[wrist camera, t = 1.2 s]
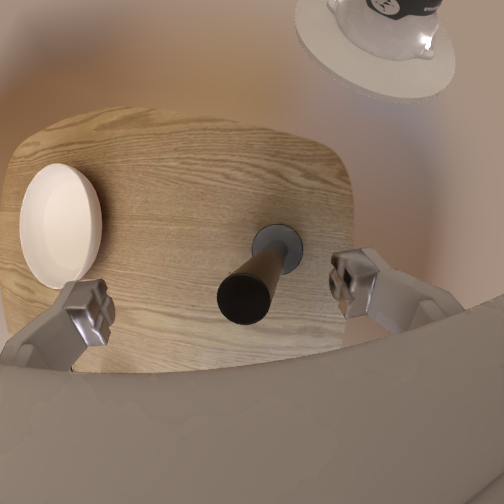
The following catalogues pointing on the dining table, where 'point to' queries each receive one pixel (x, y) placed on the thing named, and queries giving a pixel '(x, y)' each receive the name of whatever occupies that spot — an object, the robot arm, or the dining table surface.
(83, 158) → the dining table surface
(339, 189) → the dining table surface
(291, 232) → the rod on round base
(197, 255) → the dining table surface
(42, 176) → the bowl
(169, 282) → the dining table surface
